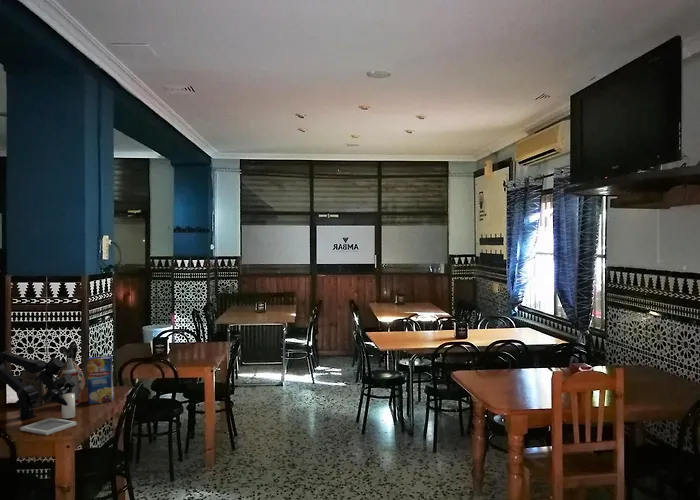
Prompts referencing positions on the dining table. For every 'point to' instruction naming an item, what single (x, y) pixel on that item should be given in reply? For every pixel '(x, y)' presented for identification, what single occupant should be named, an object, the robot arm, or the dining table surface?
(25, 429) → the tray
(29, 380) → the beer stein
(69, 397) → the grey rounded cylinder
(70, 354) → the ceramic jug
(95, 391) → the juice carton
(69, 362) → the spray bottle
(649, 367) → the dining table surface
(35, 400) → the robot arm
